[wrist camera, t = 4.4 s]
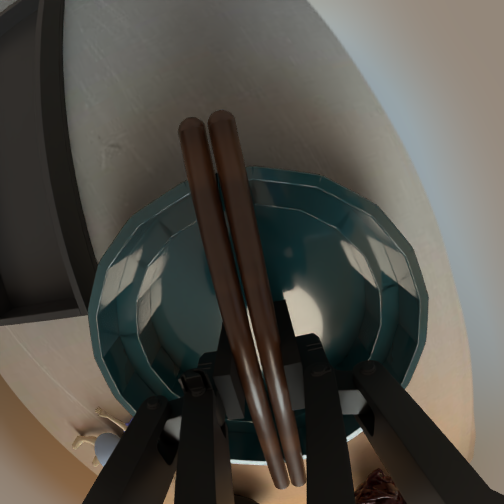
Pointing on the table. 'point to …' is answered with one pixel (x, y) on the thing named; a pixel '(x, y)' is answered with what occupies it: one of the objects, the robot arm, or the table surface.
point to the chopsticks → (252, 281)
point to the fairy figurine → (103, 441)
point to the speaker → (243, 500)
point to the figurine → (378, 490)
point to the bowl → (281, 285)
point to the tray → (38, 175)
